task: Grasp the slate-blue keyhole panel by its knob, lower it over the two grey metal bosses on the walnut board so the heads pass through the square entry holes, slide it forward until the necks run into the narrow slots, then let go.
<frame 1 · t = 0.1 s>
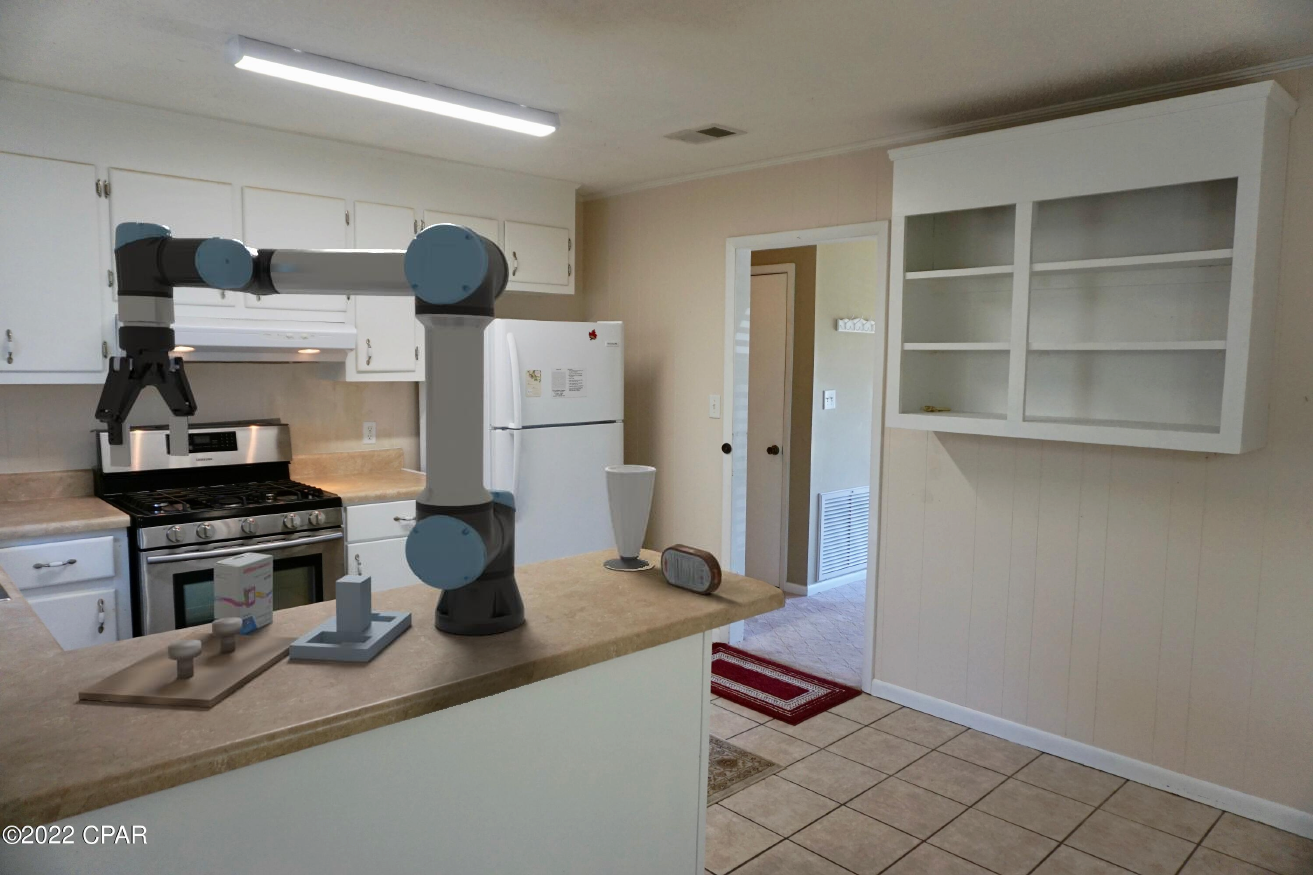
hand: (151, 461, 133), 28 cm above the counter, fingers open, 13 cm apart
boss board: (201, 669, 121), on the counter
tin: (689, 590, 169), on the counter
cup: (628, 565, 187), on the counter
ink box: (245, 629, 140), on the counter
panel: (354, 639, 135), on the counter
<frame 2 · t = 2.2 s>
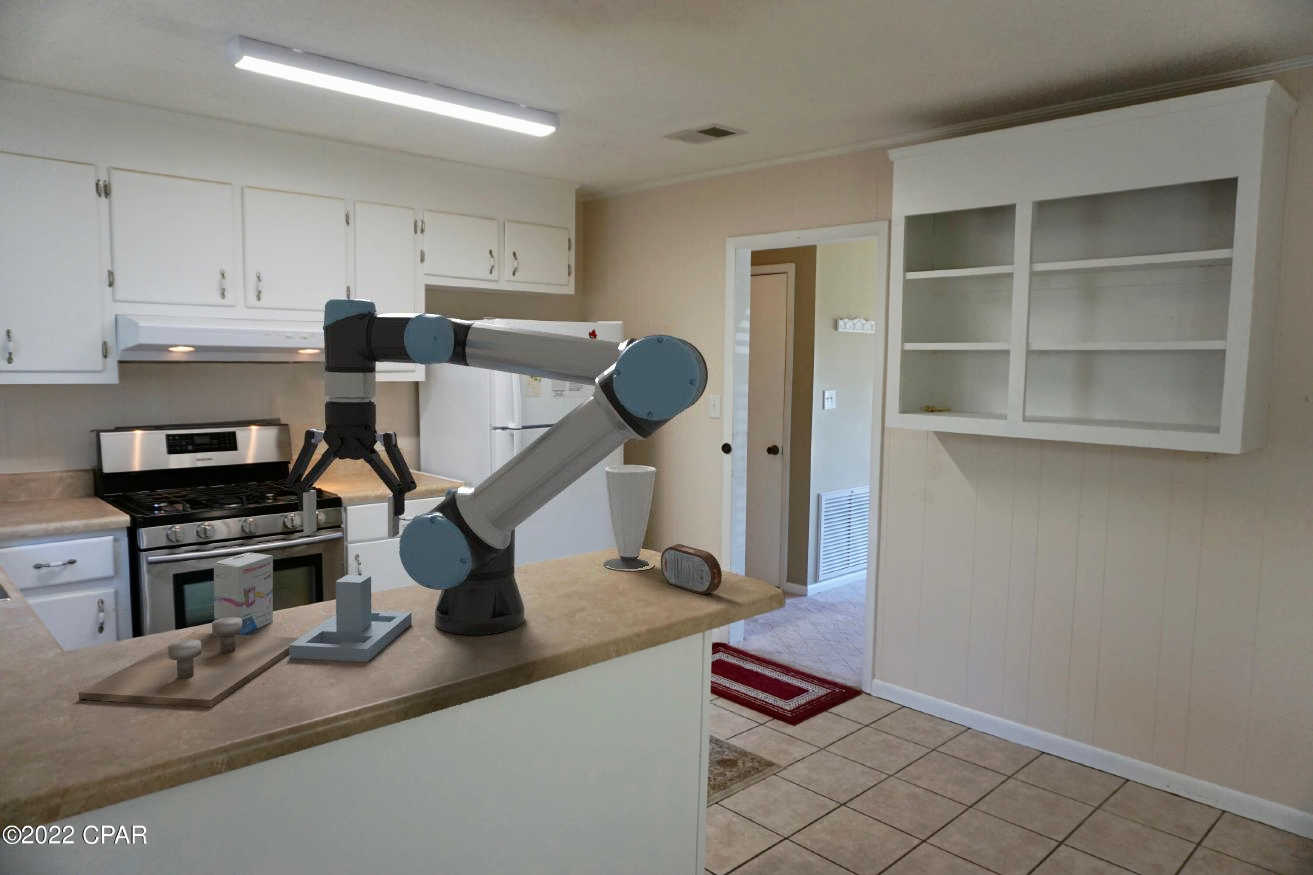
hand: (351, 534, 133), 17 cm above the counter, fingers open, 13 cm apart
nothing on the counter moved.
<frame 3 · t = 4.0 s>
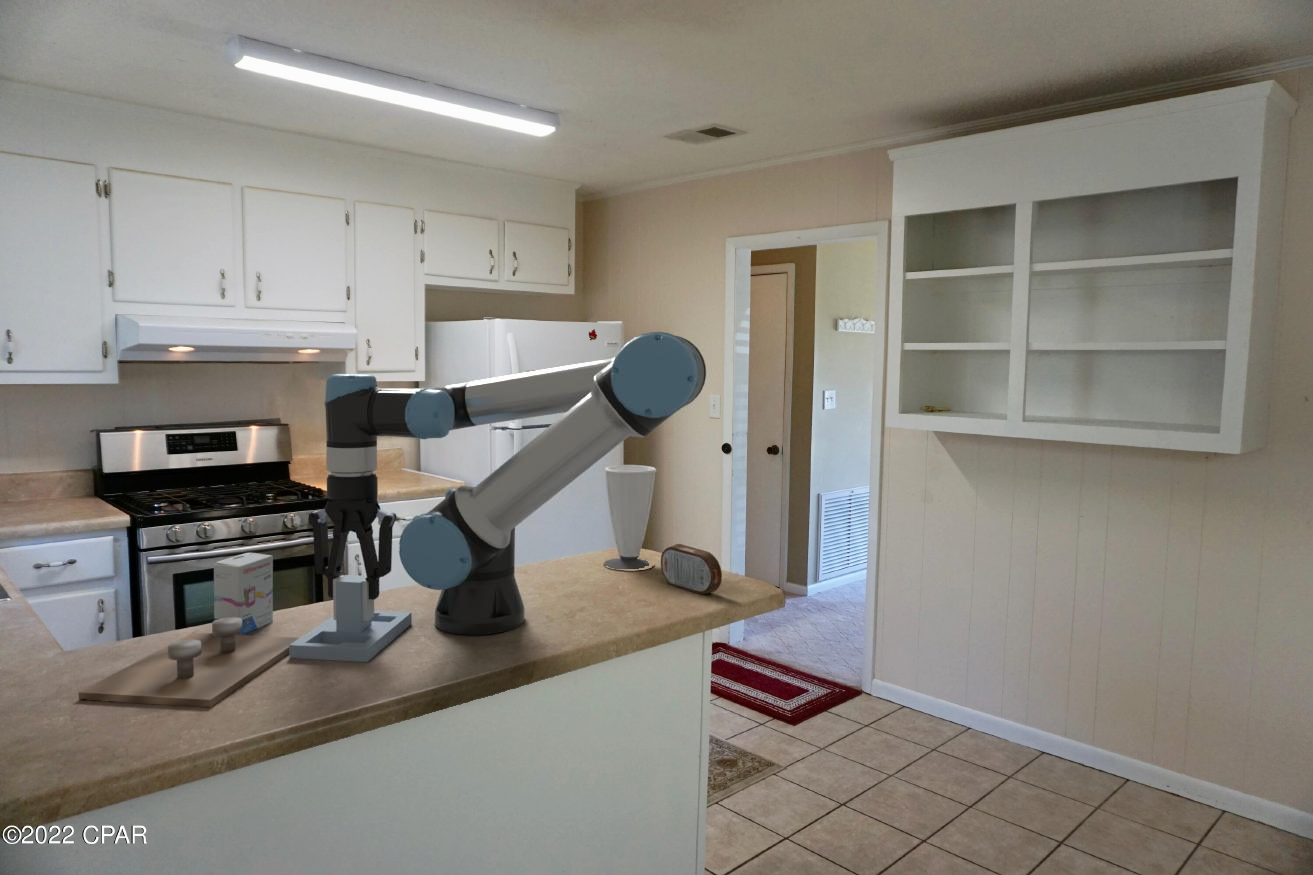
hand: (354, 617, 135), 4 cm above the counter, fingers closed on panel, 4 cm apart
panel: (354, 639, 135), on the counter, touching gripper
everything else where it was.
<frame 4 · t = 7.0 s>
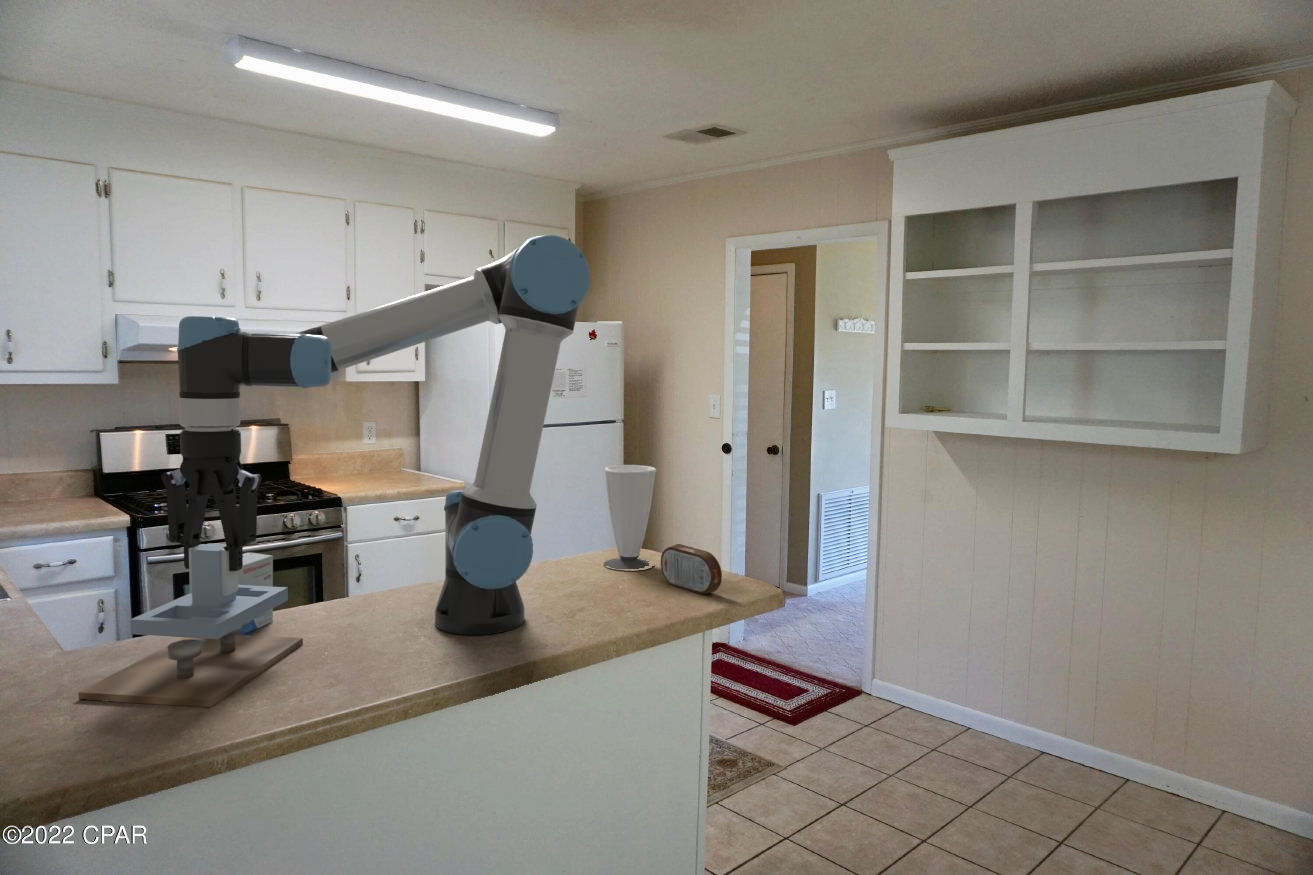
hand: (214, 591, 120), 12 cm above the counter, fingers closed on panel, 4 cm apart
panel: (214, 615, 120), point 8 cm above the counter, touching gripper
everything else where it was.
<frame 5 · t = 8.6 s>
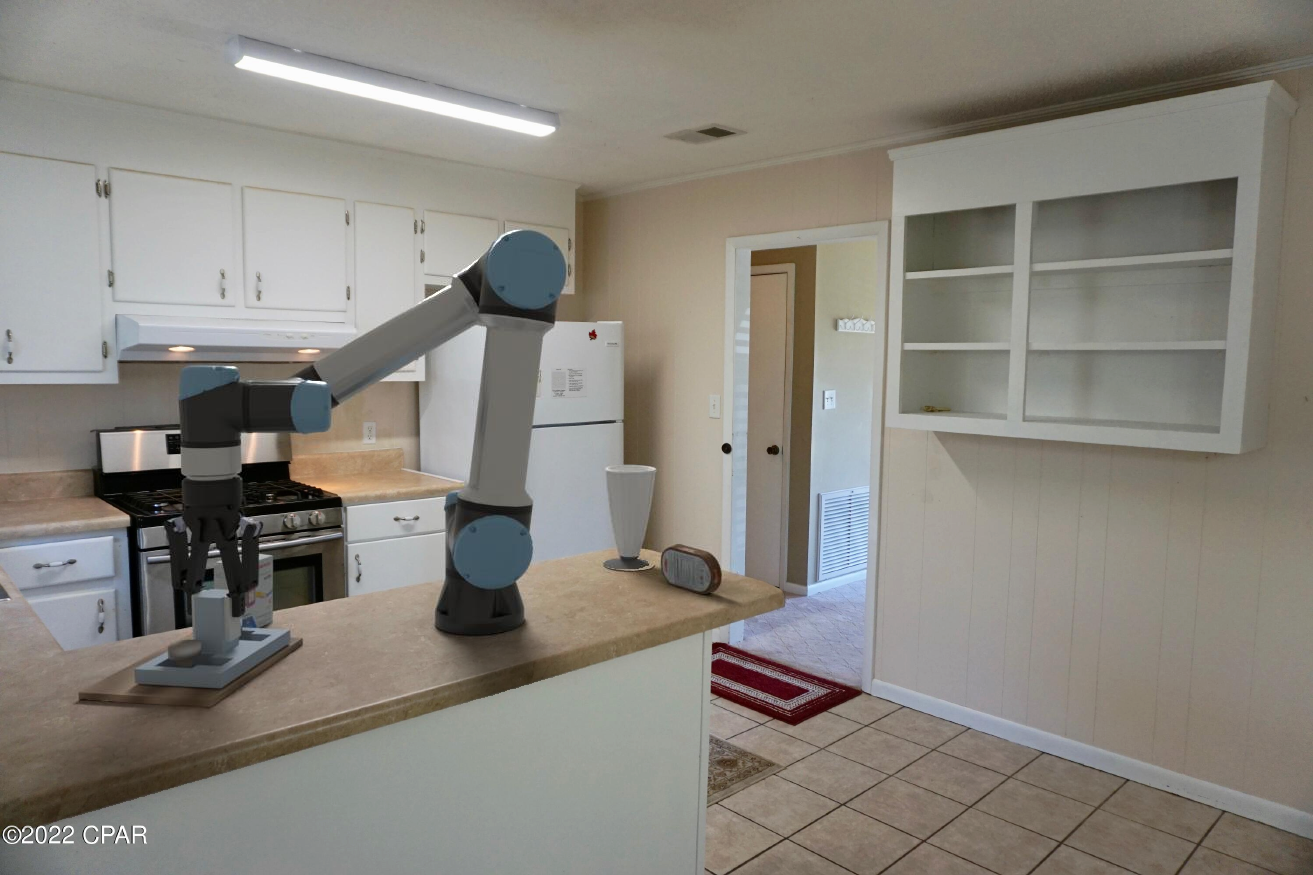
hand: (217, 637, 121), 5 cm above the counter, fingers closed on panel, 4 cm apart
panel: (218, 661, 121), point 1 cm above the counter, touching gripper
everything else where it was.
when the fingers open (5 cm above the counter, at t = 9.8 s): panel stays where it is, resting on boss board.
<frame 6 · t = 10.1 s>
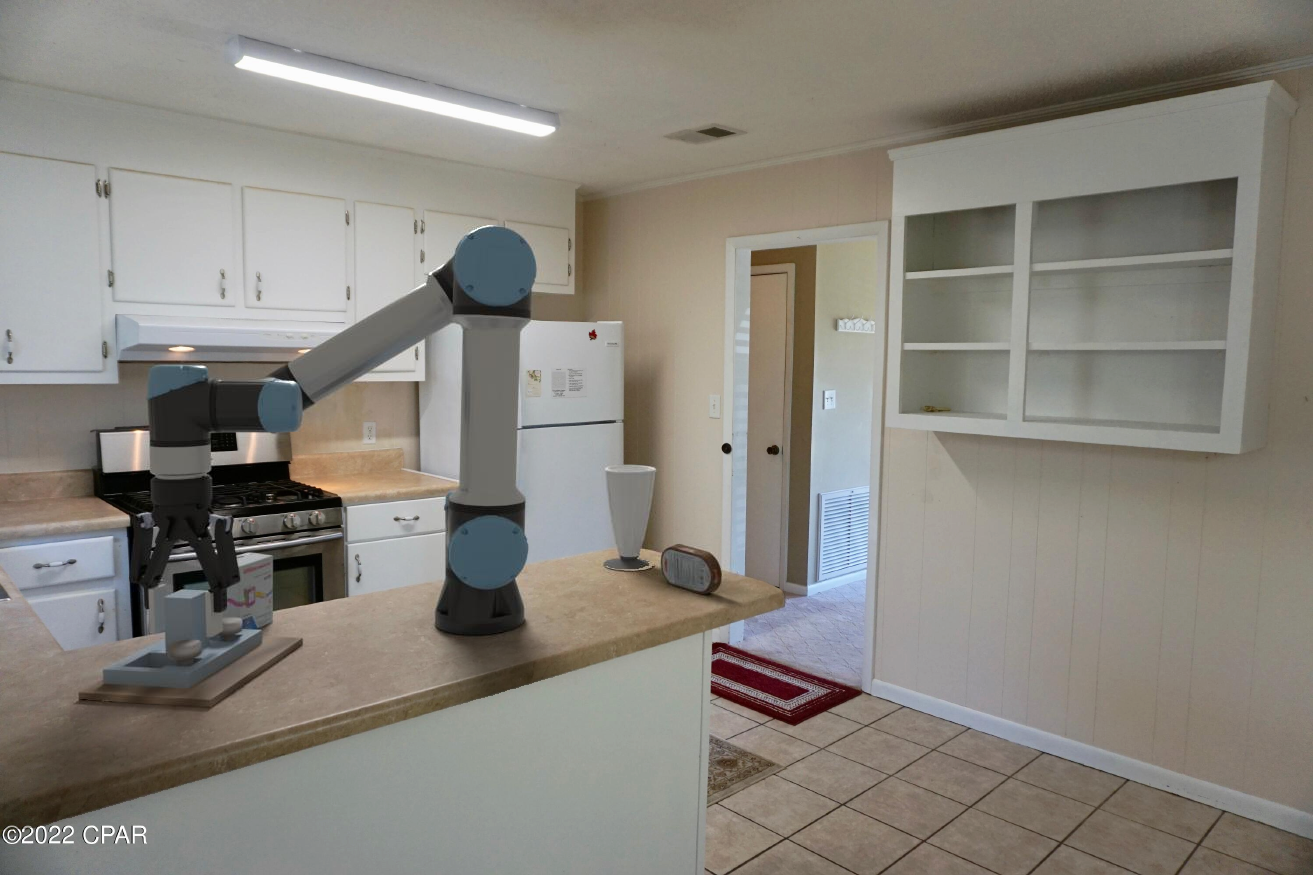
hand: (186, 632, 121), 5 cm above the counter, fingers open, 8 cm apart
panel: (188, 661, 122), point 1 cm above the counter, touching boss board
everything else where it was.
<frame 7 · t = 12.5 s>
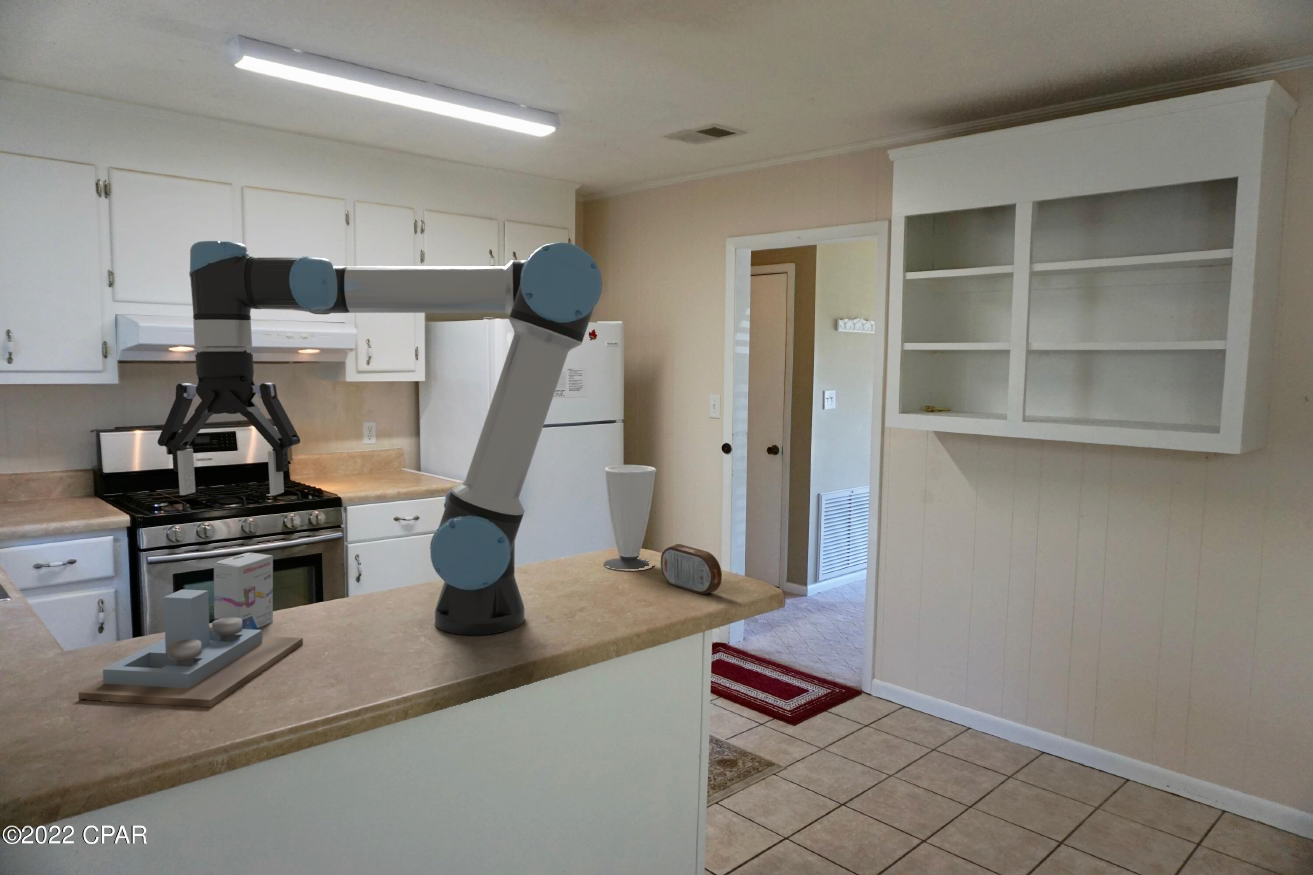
hand: (232, 493, 126), 24 cm above the counter, fingers open, 13 cm apart
nothing on the counter moved.
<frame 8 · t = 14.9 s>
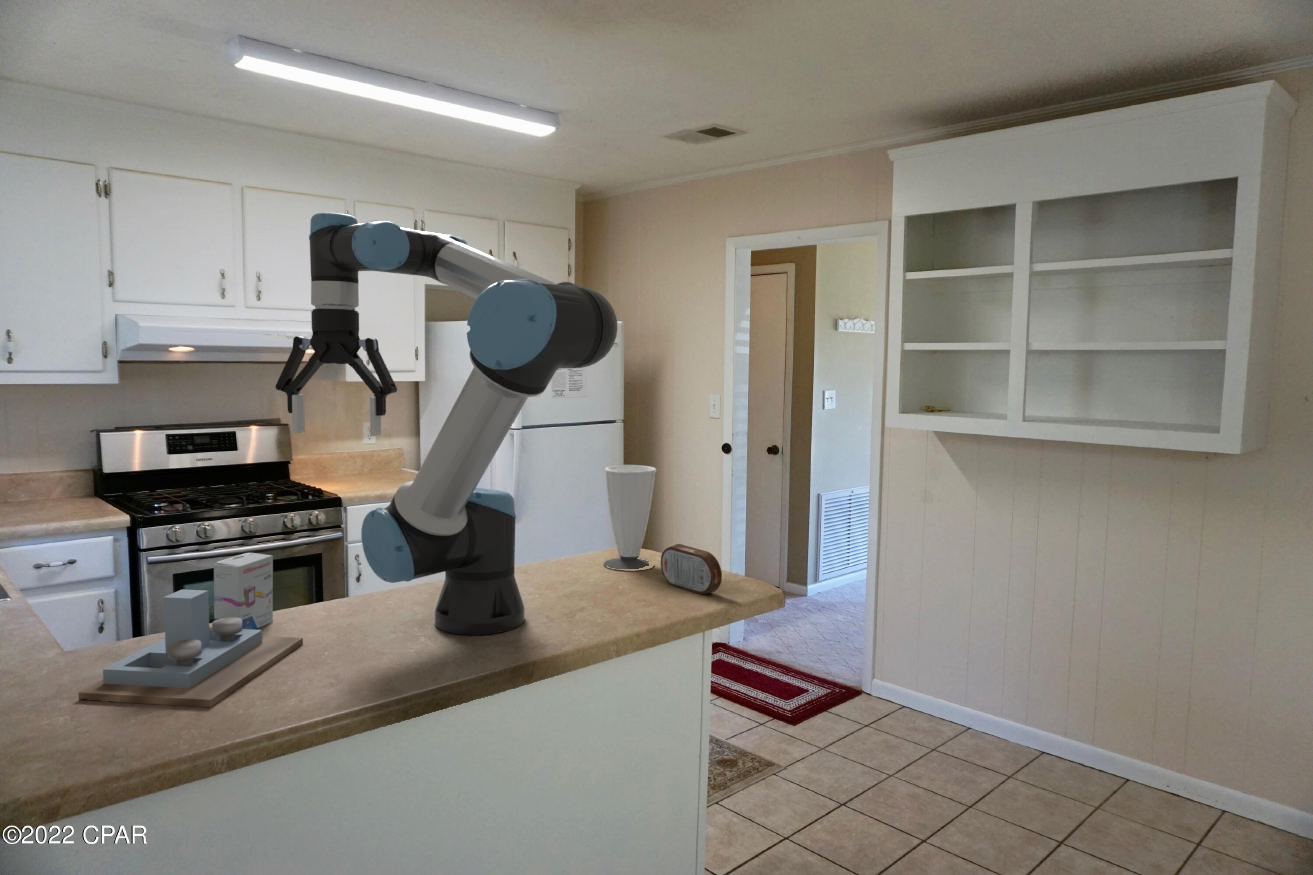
hand: (337, 434, 144), 32 cm above the counter, fingers open, 13 cm apart
nothing on the counter moved.
at the end: panel 0.4 cm from the target spot on the boss board, point 1.0 cm above the boss board's base; panel tilted 0°; the gripper is holding nothing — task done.
